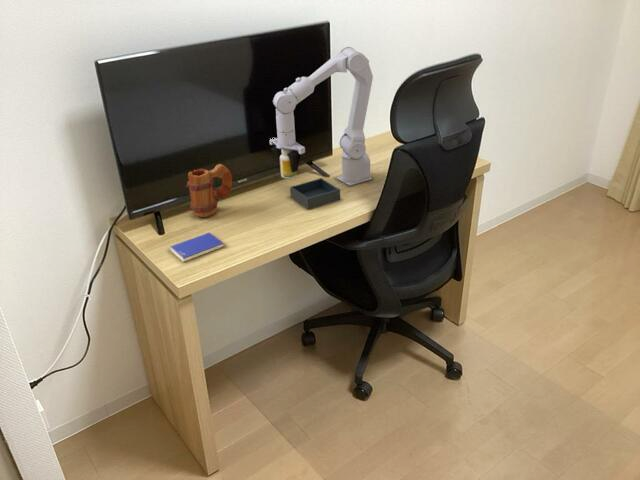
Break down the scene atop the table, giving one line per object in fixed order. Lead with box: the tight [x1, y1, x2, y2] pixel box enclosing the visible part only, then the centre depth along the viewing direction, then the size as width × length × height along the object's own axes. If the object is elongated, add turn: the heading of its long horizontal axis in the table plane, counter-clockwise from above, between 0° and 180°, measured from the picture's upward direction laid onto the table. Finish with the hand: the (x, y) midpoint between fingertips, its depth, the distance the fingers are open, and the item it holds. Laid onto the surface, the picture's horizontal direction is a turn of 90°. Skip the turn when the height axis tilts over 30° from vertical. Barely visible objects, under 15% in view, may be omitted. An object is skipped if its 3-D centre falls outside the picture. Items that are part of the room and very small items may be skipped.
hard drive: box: [169, 232, 224, 262], centre depth 163 cm, size 2×8×12 cm
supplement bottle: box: [279, 148, 298, 180], centre depth 191 cm, size 5×5×10 cm
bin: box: [289, 177, 341, 210], centre depth 188 cm, size 12×11×4 cm
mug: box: [185, 163, 233, 218], centre depth 180 cm, size 15×8×15 cm, turn 117°
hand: (288, 169), depth 192 cm, fingers closed on supplement bottle, 5 cm apart
